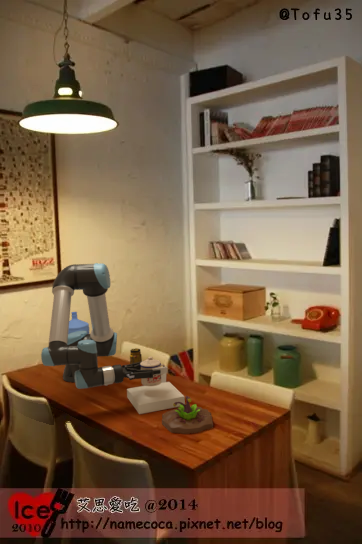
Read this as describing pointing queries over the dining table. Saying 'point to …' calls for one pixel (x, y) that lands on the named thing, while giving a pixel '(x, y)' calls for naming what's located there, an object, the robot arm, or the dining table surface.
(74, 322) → the water jug
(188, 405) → the plant
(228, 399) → the dining table surface
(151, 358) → the teacup with lid
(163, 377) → the white cup
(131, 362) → the condiment
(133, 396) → the plinth
